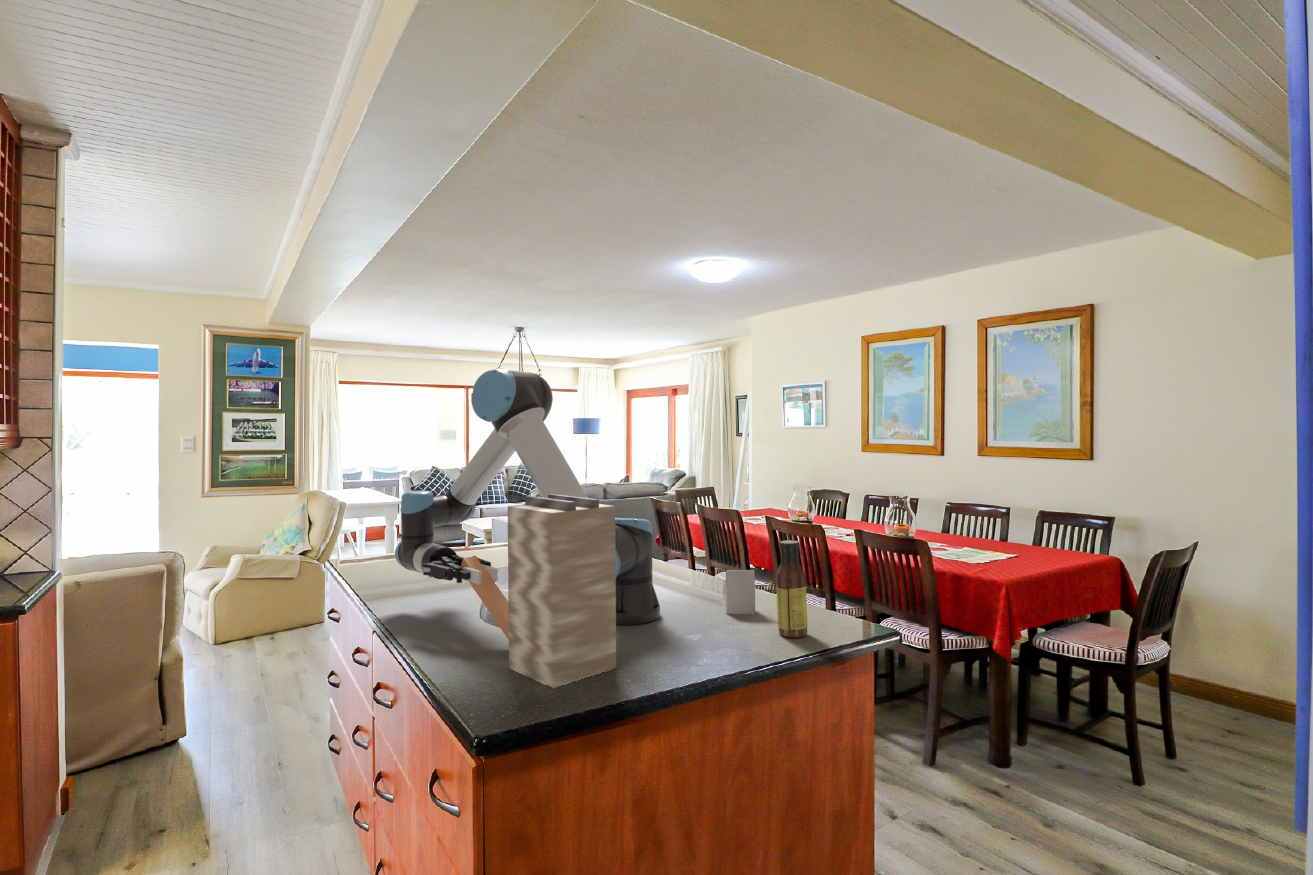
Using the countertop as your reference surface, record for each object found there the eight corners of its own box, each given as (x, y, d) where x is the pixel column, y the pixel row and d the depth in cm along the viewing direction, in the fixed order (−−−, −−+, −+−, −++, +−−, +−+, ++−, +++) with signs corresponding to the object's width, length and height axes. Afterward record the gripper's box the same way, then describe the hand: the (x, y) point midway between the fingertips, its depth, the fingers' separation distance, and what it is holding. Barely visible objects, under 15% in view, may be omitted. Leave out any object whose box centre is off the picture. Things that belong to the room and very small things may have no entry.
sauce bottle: (810, 632, 149) (810, 540, 149) (803, 640, 144) (803, 544, 143) (780, 628, 152) (780, 538, 152) (772, 636, 147) (772, 542, 146)
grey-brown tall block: (509, 668, 128) (507, 498, 128) (570, 650, 138) (568, 492, 137) (553, 688, 118) (552, 504, 118) (616, 668, 128) (615, 497, 127)
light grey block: (755, 614, 164) (755, 571, 164) (726, 613, 164) (726, 571, 164) (753, 609, 168) (753, 568, 168) (725, 609, 168) (725, 568, 168)
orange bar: (460, 568, 152) (463, 557, 151) (472, 566, 154) (475, 556, 153) (516, 652, 136) (521, 640, 135) (529, 648, 138) (534, 637, 137)
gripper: (467, 571, 169) (521, 587, 152) (402, 582, 158) (453, 601, 141) (467, 540, 169) (520, 553, 152) (402, 549, 158) (452, 564, 141)
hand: (488, 576), depth 147 cm, fingers open, 3 cm apart
